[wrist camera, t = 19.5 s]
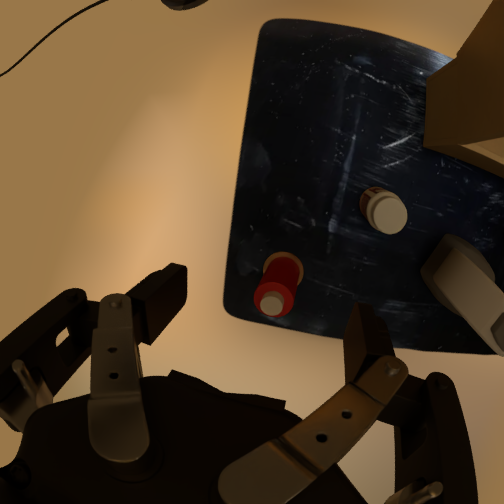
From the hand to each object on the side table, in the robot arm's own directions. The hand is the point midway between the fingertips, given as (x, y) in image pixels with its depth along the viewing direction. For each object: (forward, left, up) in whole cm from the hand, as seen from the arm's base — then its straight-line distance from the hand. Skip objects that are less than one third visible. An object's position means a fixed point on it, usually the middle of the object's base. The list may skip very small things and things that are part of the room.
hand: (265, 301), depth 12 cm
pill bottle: (+9, +5, -26) cm, 28 cm away
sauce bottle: (+2, -10, -26) cm, 28 cm away
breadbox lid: (+9, +20, -6) cm, 23 cm away
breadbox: (+18, +23, -26) cm, 39 cm away
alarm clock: (+27, +3, -26) cm, 38 cm away
